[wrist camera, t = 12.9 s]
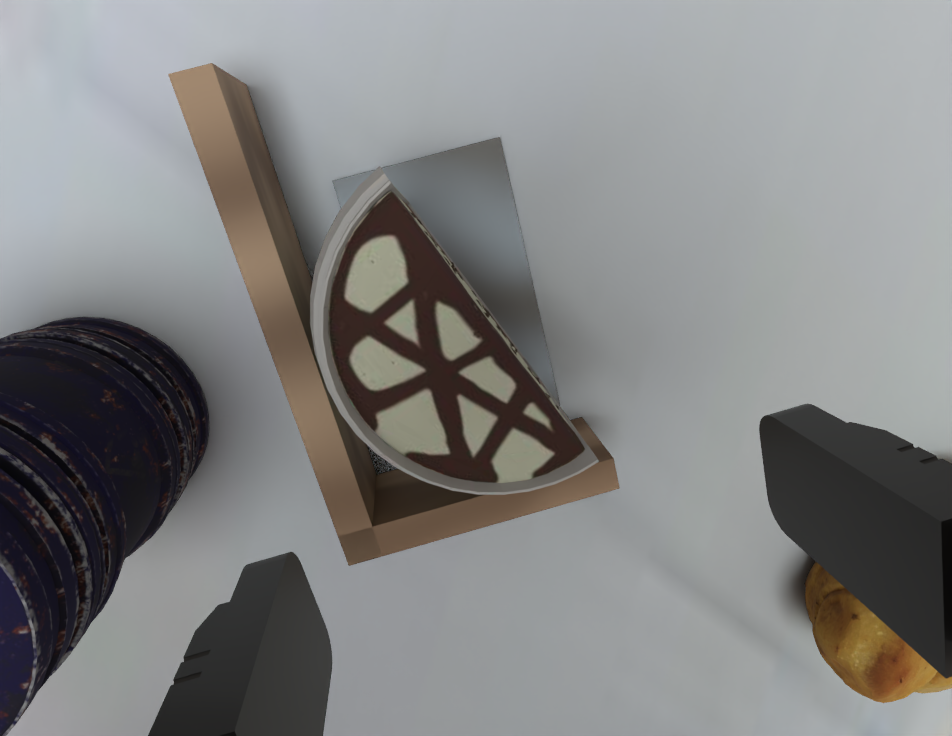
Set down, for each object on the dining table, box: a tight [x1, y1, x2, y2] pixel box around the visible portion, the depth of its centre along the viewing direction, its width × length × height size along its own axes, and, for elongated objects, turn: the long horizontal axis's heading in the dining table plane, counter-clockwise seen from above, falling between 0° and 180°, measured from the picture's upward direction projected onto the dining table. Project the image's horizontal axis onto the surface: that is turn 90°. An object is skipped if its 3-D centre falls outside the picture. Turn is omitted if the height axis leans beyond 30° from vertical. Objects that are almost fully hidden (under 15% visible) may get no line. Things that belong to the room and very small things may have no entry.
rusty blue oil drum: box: [0, 317, 209, 736], centre depth 22 cm, size 10×10×15 cm
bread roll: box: [805, 561, 952, 703], centre depth 33 cm, size 13×10×8 cm
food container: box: [310, 166, 599, 495], centre depth 25 cm, size 12×6×10 cm, turn 36°
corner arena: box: [168, 63, 619, 566], centre depth 27 cm, size 20×12×5 cm, turn 14°
